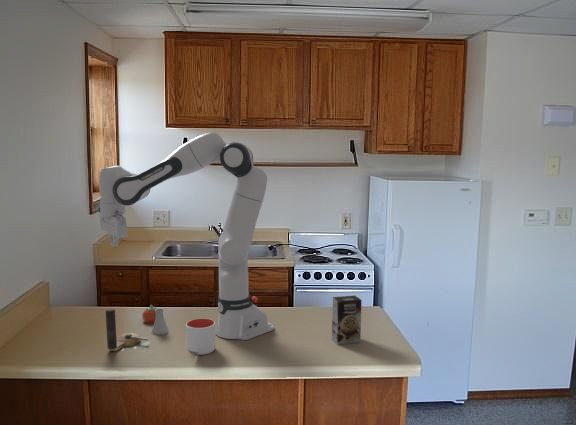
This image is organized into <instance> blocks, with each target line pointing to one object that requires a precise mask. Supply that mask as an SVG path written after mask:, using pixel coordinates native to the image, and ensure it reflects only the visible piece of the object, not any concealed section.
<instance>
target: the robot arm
mask: <svg viewBox="0 0 576 425" xmlns="http://www.w3.org/2000/svg"><path fill="white" fill-rule="evenodd" d="M253 161H254V155H253V152H252V150H251V149H250V148H249V146H247V145H246V144H245V143H242V142H239V141H238V142H235V141H234V142H233V141H232V142H229V143H226V141H224V139H223V137H222V136H221V135H220V134H219V133H217V132H214V131H210V132H207V133H204V134H203V133H202V134H201V135H198V136H196V137H195V138H192V139H190V140H188V141H187V142H185V143H183V144H182V145H180V146H179V147H178V148H176V149H175V150H174V151H172V152H171V154H169V155H167V157H165V158H164V159H163V160H161V161H160V162H158V163H157V164H155V165H153V166H152V167H150V168H148V169H146V170H144V171H142V172H141V173H138V174H137V173H133V172H131V171H129V170H127V169H125V168H123V167H122V166H120V165H114V166H108V167H103V168H102V169H101V170H100V172H99V178H98V179H99V180H98V187H99V188H98V189H99V193H100V200H99V206H98V207H97V213H99V223H100V229H101V231H103V232H104V233H107V234H109V239H110V245H111V246H112V247H113V248H116V247H117V248H118V247H119V240H120V239H123V238H127V237H128V224H127V220H126V217H125V216H124V215H126V206H132V205H135V204H136V203H137V202H140V201H141V200H144V199H145V198H146V197H148V196H149V194H150V192H151V189H152V188H154V187H157V185H160V184H162V183H164V182H166V181H167V180H170V179H173V178H178V177H181V176H187V175H189V174H192V173H195V172H198V171H200V170H202V169H204V168H206V167H207V166H210V165H211V164H214V163H220V164H221V166H222V168H223V169H224V170H226V171H227V172H228V173H230V174H232V175H233V176H234V177H236V186H235V189H234V192H233V194H232V198H231V201H230V205H229V208H228V211H227V215H226V218H225V223H224V226H223V230H222V233H221V234H220V236H219V238H218V241H217V242H218V243H217V244H218V245H217V246H218V247H217V252H218V296H217V306H218V308H217V309H218V320H217V324H216V325H217V326H216V328H215V336H218V337H219V338H223V339H227V340H242V341H247V340H250V339H253V338H255V337H259V336H261V335H264V334H266V333H268V332H272V331H274V324H272V323H271V322H269V321H268V320H269V319H268V316H267V314H266V313H265V311H264V310H263V309H261V308H260V307H258V306H257V305H255V304H254V303H258V301H259V298H258V297H257V296H255V295H253V296H252V295H250V293H249V259H248V255H249V251H250V249H251V245H252V241H253V237H254V233H255V229H256V225H257V221H258V218H259V215H260V212H261V208H262V205H263V202H264V198H265V195H266V190H267V183H268V176H267V174H266V172H265V171H264V170H263V169H261V168H260V167H256V166H255V165H254V163H253Z"/></svg>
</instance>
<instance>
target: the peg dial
mask: <svg viewBox="0 0 576 425" xmlns="http://www.w3.org/2000/svg"><path fill="white" fill-rule="evenodd" d="M105 323H106V342H107V344H106V345H107V346H106V347H107V349H108V350H109V351H112V352H117V351H118V350H120V349H123V348H124V347H131V346H134V345H137V344H139V343H141V341H145V342H146V341H147V342H148V341H149V338H148V337H142V336H141V335H140V334H138V333H135V332H134V333H133V332H131V333H130V332H129V333H123V334H120V335H119V336H117V325H116V324H117V323H116V309H113V308H111V309H107V310H105Z"/></svg>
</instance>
